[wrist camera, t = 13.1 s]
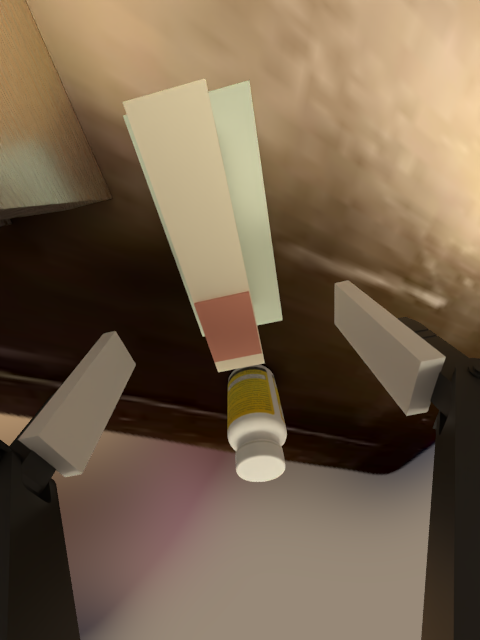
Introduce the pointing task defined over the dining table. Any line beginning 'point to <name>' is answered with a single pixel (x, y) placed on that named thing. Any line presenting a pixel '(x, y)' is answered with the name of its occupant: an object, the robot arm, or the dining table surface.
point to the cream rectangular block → (199, 215)
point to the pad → (240, 196)
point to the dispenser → (38, 128)
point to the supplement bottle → (256, 424)
